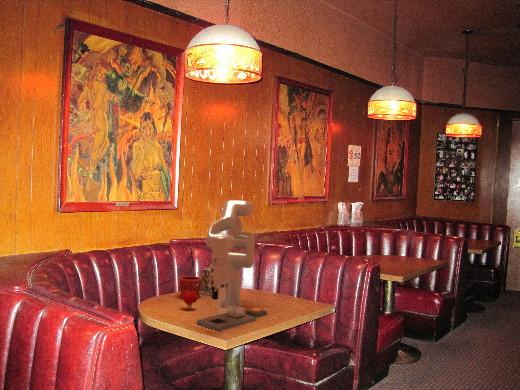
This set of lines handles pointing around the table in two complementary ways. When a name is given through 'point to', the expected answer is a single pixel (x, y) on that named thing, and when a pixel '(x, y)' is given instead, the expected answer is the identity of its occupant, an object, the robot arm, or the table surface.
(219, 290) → the block
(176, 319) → the table surface
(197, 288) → the plant pot
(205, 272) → the decorative jar
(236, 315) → the seated billet
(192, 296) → the light bulb
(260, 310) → the button
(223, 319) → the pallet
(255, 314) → the button housing
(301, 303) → the table surface
